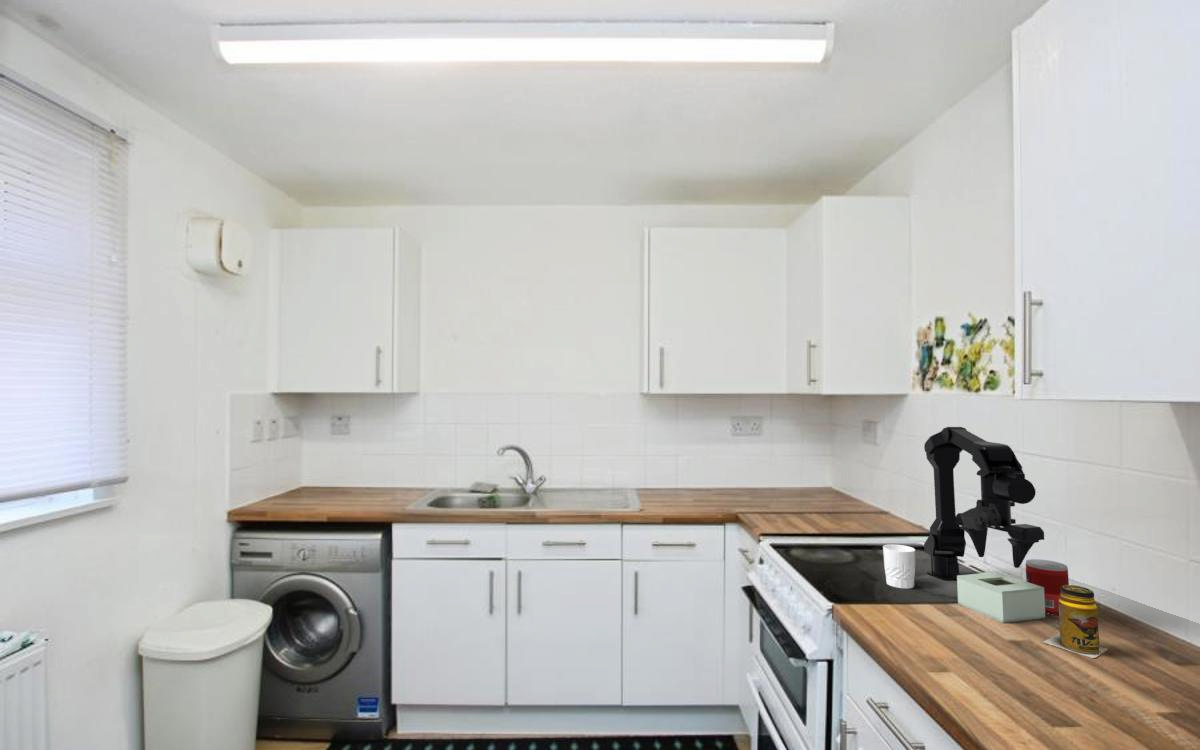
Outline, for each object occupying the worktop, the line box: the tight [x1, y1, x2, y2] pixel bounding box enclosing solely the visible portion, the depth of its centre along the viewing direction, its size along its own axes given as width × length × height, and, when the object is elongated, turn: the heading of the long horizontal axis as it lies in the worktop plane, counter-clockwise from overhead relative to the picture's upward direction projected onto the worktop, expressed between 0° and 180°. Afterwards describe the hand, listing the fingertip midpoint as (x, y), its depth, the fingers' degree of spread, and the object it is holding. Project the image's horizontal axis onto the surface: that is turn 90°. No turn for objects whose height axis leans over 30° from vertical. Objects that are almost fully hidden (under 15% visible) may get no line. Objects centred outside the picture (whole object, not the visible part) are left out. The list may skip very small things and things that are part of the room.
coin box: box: [956, 571, 1046, 624], centre depth 132 cm, size 12×12×7 cm
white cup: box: [882, 543, 916, 590], centre depth 151 cm, size 8×8×10 cm
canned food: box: [1025, 558, 1070, 616], centre depth 133 cm, size 8×8×11 cm
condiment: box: [1042, 584, 1109, 659], centre depth 113 cm, size 7×8×12 cm
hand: (998, 562), depth 132 cm, fingers open, 9 cm apart
